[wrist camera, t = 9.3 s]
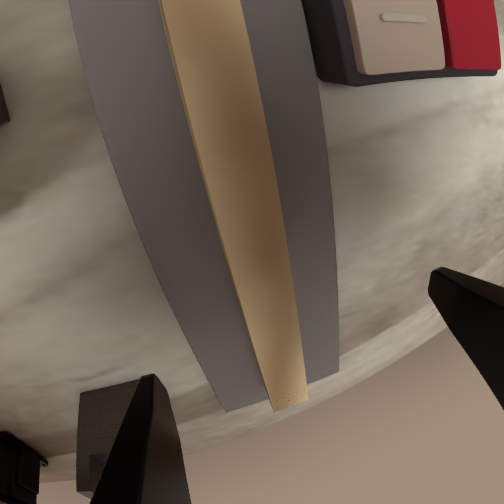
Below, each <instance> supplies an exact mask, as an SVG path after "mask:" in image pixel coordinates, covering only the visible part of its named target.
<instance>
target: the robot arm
mask: <svg viewBox="0 0 504 504" xmlns="http://www.w3.org/2000/svg"><path fill="white" fill-rule="evenodd" d="M428 294H429V296H430V298H431V300H432V301H433V303H434V304H435V306H436V308H437V309H438V311H439V312H440V314H441V316H442V317H443V319H444V321H445V322H446V324H447V326H448V327H449V329H450V331H451V332H452V333H453V335H454V336H455V338H456V339H457V340H458V342H459V343H460V345H461V346H462V347H463V349H464V350H465V352H466V353H467V354H468V356H469V357H470V359H471V360H472V362H473V363H474V365H475V366H476V368H477V369H478V370H479V372H480V374H481V375H482V376H483V378H484V380H485V381H486V383H487V384H488V386H489V387H490V389H491V390H492V392H493V394H494V395H495V397H496V398H497V400H498V401H499V403H500V405H501V406H502V408H503V410H504V287H501V286H498V285H495V284H493V283H490V282H487V281H484V280H481V279H478V278H475V277H472V276H469V275H466V274H463V273H460V272H457V271H454V270H451V269H448V268H445V267H439V268H437V269H435V270H433V271H432V272H431V275H430V281H429V286H428ZM47 466H48V462H47V461H46V460H45V459H43V458H42V457H40V456H39V455H37V454H36V453H34V452H33V451H32V450H30V449H29V448H28V447H26V446H25V445H24V444H22V443H21V442H20V441H18V440H17V439H16V438H14V437H13V436H12V435H10V434H9V433H0V504H36V498H37V494H38V493H39V473H40V467H47ZM100 478H101V479H99V481H98V484H97V486H96V489H95V491H94V494H93V496H92V499H91V501H90V504H191V499H190V494H189V489H188V484H187V479H186V473H185V467H184V461H183V455H182V449H181V443H180V438H179V434H178V431H177V427H176V423H175V419H174V416H173V412H172V408H171V404H170V400H169V396H168V393H167V390H166V388H165V387H164V386H163V384H162V383H161V381H160V380H159V379H158V377H157V376H156V375H155V374H148V375H145V376H142V377H141V378H140V379H139V382H138V384H137V386H136V389H135V391H134V393H133V396H132V398H131V401H130V403H129V405H128V408H127V410H126V413H125V415H124V417H123V420H122V422H121V425H120V427H119V430H118V432H117V435H116V437H115V440H114V442H113V445H112V447H111V450H110V452H109V455H108V457H107V460H106V463H105V465H104V468H103V470H102V473H101V476H100Z"/></svg>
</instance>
